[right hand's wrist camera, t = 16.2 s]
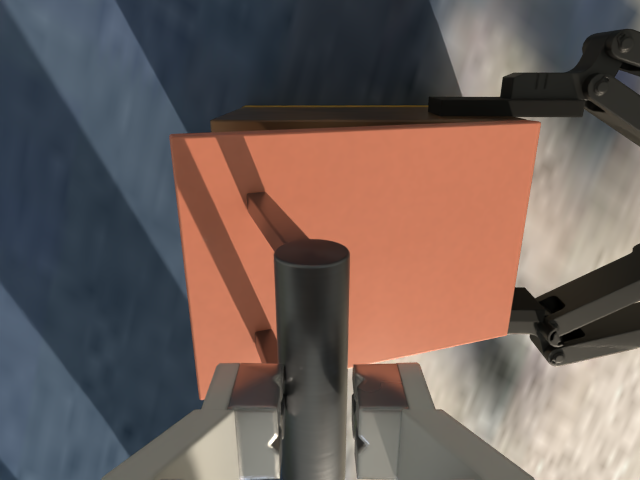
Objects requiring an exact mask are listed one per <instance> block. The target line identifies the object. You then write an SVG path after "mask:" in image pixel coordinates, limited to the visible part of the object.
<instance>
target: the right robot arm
mask: <svg viewBox="0 0 640 480" xmlns="http://www.w3.org/2000/svg"><path fill="white" fill-rule="evenodd" d="M352 380H353V391H354V394H353V395H352V430H353V438H354V439H355V463H356V472H357V479H384V480H534V478H533V477H532V476H531V475H529V474H528V473H526V472H525V471H524V470H522V469H521V468H520V467H518V466H517V465H516V464H514V463H513V462H512V461H510V460H509V459H508V458H506V457H505V456H504V455H502V454H501V453H500V452H498V451H497V450H496V449H494V448H493V447H492V446H490V445H489V444H488V443H486V442H485V441H483V440H482V439H481V438H479V437H478V436H477V435H475V434H474V433H473V432H471V431H470V430H469V429H467V428H466V427H465V426H463V425H462V424H461V423H459V422H458V421H457V420H455V419H454V418H453V417H451V416H450V415H449V414H447V413H446V412H445V411H443V410H436V409H435V407H434V404H433V401H432V398H431V395H430V392H429V390H428V387H427V384H426V381H425V378H424V375H423V372H422V370H421V367H420V365H419V364H418V363H396V364H353V377H352ZM284 381H285V377H284V364H271V363H219V364H218V365H217V366H216V369H215V372H214V375H213V377H212V380H211V383H210V386H209V388H208V391H207V394H206V397H205V400H204V402H203V405H202V408H201V410H193V411H192V412H191V413H189V414H188V415H187V416H185V417H184V418H182V419H181V420H180V421H178V422H177V423H176V424H174V425H173V426H172V427H170V428H169V429H167V430H166V431H165V432H163V433H162V434H161V435H159V436H158V437H157V438H155V439H154V440H152V441H151V442H150V443H148V444H147V445H146V446H144V447H143V448H142V449H140V450H139V451H138V452H136V453H135V454H133V455H132V456H131V457H129V458H128V459H127V460H125V461H124V462H123V463H121V464H120V465H118V466H117V467H116V468H114V469H113V470H112V471H110V472H109V473H108V474H106V475H105V476H103V478H102V479H101V480H252V479H280V471H281V461H282V439H283V438H284V431H285V395H284V393H283V391H284Z"/></svg>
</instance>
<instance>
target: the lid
mask: <svg viewBox="0 0 640 480" xmlns="http://www.w3.org/2000/svg"><path fill="white" fill-rule="evenodd" d="M540 126H541V122H538V121H530V120H513V121H488V122H463V123H437V124H412V125H387V126H362V127H337V128H312V129H287V130H262V131H236V132H211V133H186V134H171V135H170V136H169V137H170V146H171V155H172V164H173V173H174V181H175V190H176V199H177V208H178V217H179V226H180V234H181V243H182V252H183V261H184V270H185V279H186V287H187V296H188V305H189V314H190V323H191V332H192V340H193V349H194V358H195V367H196V376H197V385H198V392H199V398H200V400H203V399H205V397H206V394H207V391H208V388H209V386H210V383H211V380H212V377H213V375H214V372H215V369H216V366H217V365H218V364H219V363H271V364H284V377H285V381H284V391H283V393H284V395H285V431H284V438H283V439H282V477H283V480H344V479H345V465H346V420H347V376H348V369H350V368H353V364H373V363H378V362H383V361H387V360H392V359H397V358H402V357H406V356H411V355H416V354H420V353H425V352H430V351H435V350H439V349H444V348H449V347H454V346H458V345H463V344H468V343H472V342H477V341H482V340H487V339H491V338H496V337H501V336H506V335H507V332H508V326H509V320H510V314H511V307H512V301H513V295H514V289H515V282H516V276H517V270H518V264H519V257H520V251H521V245H522V238H523V232H524V226H525V220H526V213H527V207H528V201H529V195H530V188H531V182H532V176H533V170H534V163H535V157H536V151H537V145H538V138H539V132H540Z"/></svg>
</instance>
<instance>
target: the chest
mask: <svg viewBox="0 0 640 480" xmlns="http://www.w3.org/2000/svg"><path fill="white" fill-rule="evenodd" d="M513 120H526V119H522V118H517V117H513V116H438V115H435V114H432V113H430V112H428V105H355V106H243V107H242V108H240V109H238V110H235V111H233V112H230V113H228V114H225V115H223V116H220V117H218V118H215V119H213V120H211V121H210V126H211V132H236V131H262V130H287V129H312V128H337V127H362V126H387V125H412V124H437V123H463V122H488V121H513Z"/></svg>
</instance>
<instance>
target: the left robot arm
mask: <svg viewBox="0 0 640 480" xmlns="http://www.w3.org/2000/svg"><path fill="white" fill-rule="evenodd" d="M582 51H583V55H582V57H581V59H580V61H579V62H578V64H577V65H576V66H575V67H574V68H573V69H572V70H570V71H568V72H564V73H512V74H510V75H507V76H505V77H503V80H502V88H501V95H500V97H429V104H428V112H430V113H432V114H435V115H438V116H513V117H582V116H583V111H584V109H585V110H587V111H588V112H590V113H591V114H592V115H594V116H595V117H597V118H598V119H600V120H601V121H603V122H604V123H606V124H607V125H609V126H610V127H612V128H613V129H615V130H616V131H618V132H619V133H621V134H622V135H624V136H625V137H626V138H628V139H629V140H631V141H632V142H634V143H635V144H637V145H638V146H640V95H639V94H637V93H636V92H634V91H633V90H631V89H630V88H629V87H627V86H626V85H624V84H623V83H621V82H620V81H619V80H617V79H616V78H614V77H615V76H616V74H617V72H618V70H622V71H625V72H628V73H631V74H634V75H637V76H640V32H638V31H636V30H633V29H623V30H616V31H609V32H603V33H596V34H593V35H590V36H589V37H588V38H587V39H586V40H585V42H584V43H583V47H582ZM638 301H640V244H638V245H636V246H634V247H633V252H632V253H630V254H629V255H626V256H624V257H622V258H620V259H618V260H616V261H614V262H611V263H609V264H607V265H605V266H603V267H601V268H599V269H597V270H594V271H592V272H590V273H588V274H586V275H584V276H582V277H579V278H577V279H575V280H573V281H571V282H569V283H567V284H565V285H562V286H560V287H558V288H556V289H554V290H552V291H550V292H547V293H545V294H543V295H541V296H539V297H537V298H534V297H533V296H532V295H531V294H530V293H529V292H528V291H527V290H526V288H515V289H514V295H513V301H512V307H511V314H510V320H509V326H508V332H507V334H530V339H531V341H532V342H533V343H534V344H535V346H536V347H537V348H538V350H539V351H540V352H541V353H542V355H543V356H544V357H545V359H546V360H547V361H548V362H549V364H551V365H552V366H563V365H567V364H572V363H576V362H580V361H585V360H589V359H594V358H598V357H602V356H607V355H611V354H615V353H620V352H624V351H629V350H633V349H637V348H640V302H638ZM636 302H638V303H636Z"/></svg>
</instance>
